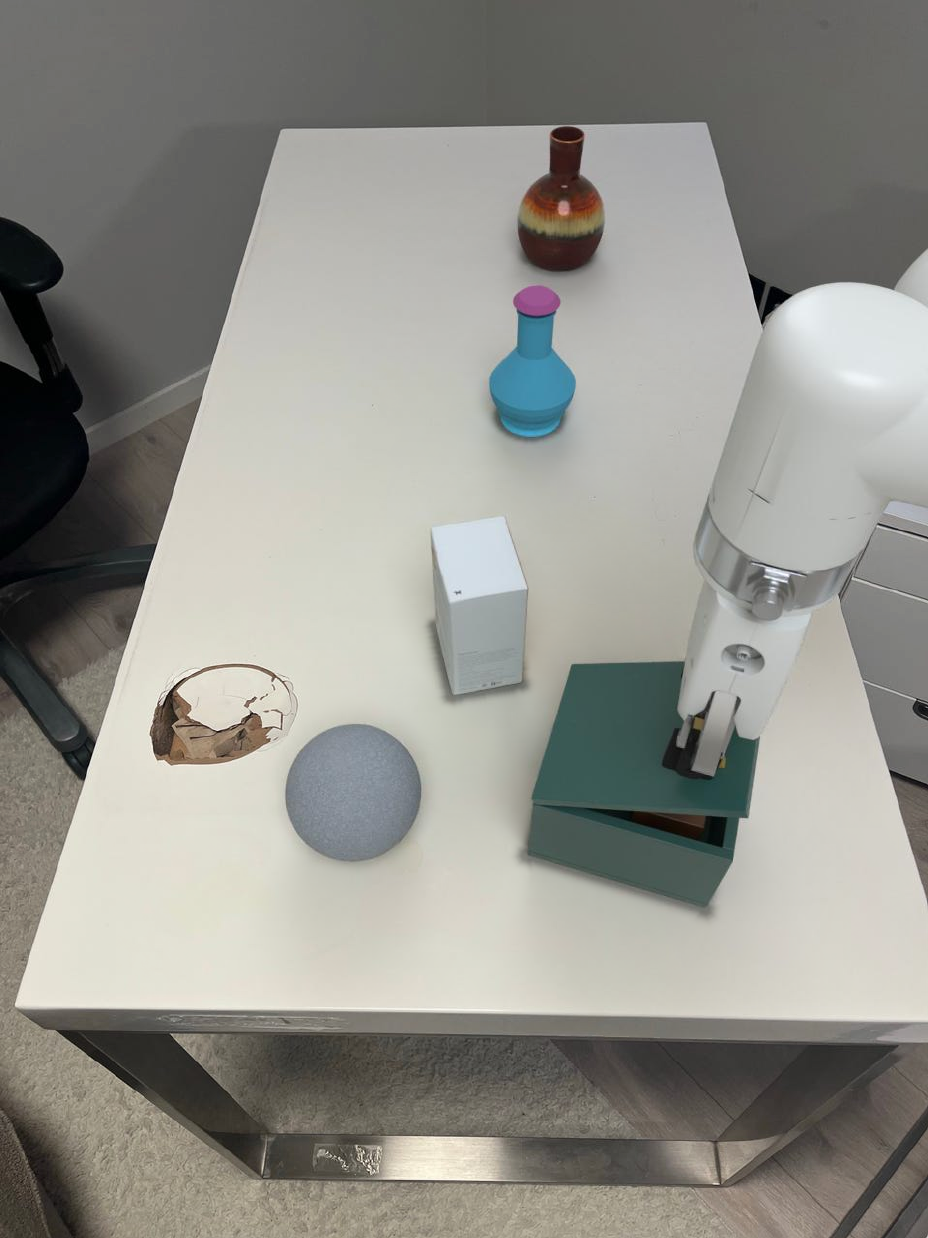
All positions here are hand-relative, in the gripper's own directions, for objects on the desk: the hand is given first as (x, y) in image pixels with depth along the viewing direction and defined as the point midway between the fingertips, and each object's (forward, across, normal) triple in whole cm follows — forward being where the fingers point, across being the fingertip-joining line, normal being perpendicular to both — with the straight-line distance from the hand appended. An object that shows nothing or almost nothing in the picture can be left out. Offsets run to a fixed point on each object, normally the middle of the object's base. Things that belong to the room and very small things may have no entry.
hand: (696, 723), depth 58 cm
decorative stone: (+16, -7, +22) cm, 28 cm away
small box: (+16, +11, +18) cm, 26 cm away
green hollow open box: (+15, 0, +2) cm, 15 cm away
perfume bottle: (+15, +43, +22) cm, 51 cm away
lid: (+3, 0, +2) cm, 4 cm away
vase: (+15, +75, +27) cm, 81 cm away
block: (+14, 0, -1) cm, 14 cm away
